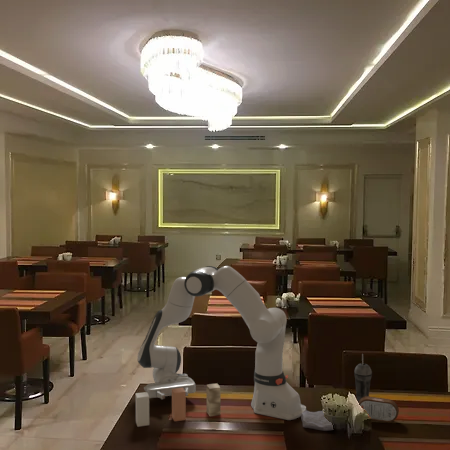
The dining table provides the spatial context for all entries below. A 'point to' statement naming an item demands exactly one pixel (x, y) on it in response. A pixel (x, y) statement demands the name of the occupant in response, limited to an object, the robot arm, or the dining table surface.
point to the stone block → (316, 421)
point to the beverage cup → (362, 379)
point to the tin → (380, 408)
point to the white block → (142, 409)
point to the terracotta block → (178, 404)
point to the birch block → (213, 399)
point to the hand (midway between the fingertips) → (174, 395)
